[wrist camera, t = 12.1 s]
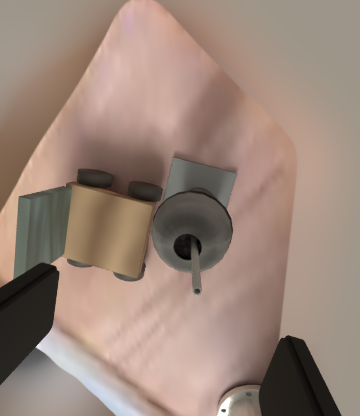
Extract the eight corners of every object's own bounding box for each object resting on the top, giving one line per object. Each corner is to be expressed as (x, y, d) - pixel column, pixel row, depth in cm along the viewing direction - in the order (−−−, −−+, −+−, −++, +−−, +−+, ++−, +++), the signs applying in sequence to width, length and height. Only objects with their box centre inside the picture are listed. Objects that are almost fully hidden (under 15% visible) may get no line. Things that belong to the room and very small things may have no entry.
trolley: (165, 187, 33) (139, 208, 21) (147, 269, 37) (115, 326, 25) (87, 167, 34) (20, 176, 22) (76, 249, 37) (12, 295, 25)
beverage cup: (191, 165, 32) (161, 188, 12) (236, 197, 32) (276, 269, 12) (161, 209, 33) (94, 288, 14) (204, 238, 34) (195, 356, 14)
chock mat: (236, 173, 32) (236, 173, 31) (216, 241, 34) (216, 243, 34) (173, 157, 32) (173, 157, 32) (158, 225, 35) (157, 227, 34)
